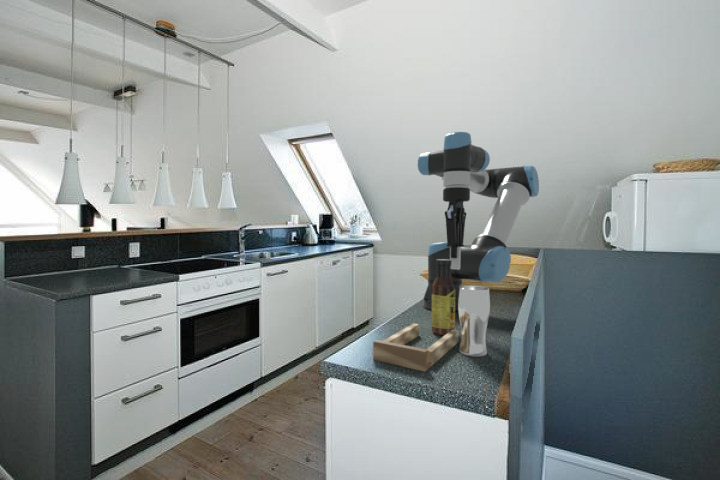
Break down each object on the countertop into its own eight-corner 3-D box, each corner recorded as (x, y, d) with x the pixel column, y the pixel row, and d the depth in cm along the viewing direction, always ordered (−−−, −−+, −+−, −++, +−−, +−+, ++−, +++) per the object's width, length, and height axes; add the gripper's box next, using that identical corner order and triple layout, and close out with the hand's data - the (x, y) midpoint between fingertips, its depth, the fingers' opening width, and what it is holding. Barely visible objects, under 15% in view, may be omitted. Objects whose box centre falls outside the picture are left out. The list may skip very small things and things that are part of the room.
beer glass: (485, 359, 81) (486, 291, 80) (453, 354, 84) (454, 288, 84) (491, 350, 87) (492, 286, 86) (461, 345, 90) (462, 284, 90)
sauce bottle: (455, 337, 97) (456, 261, 96) (431, 335, 98) (432, 260, 97) (454, 329, 103) (455, 258, 103) (431, 328, 105) (432, 258, 104)
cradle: (413, 334, 99) (413, 319, 99) (458, 342, 93) (458, 326, 92) (373, 359, 81) (373, 341, 81) (425, 371, 74) (425, 351, 74)
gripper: (451, 190, 115) (449, 266, 116) (436, 186, 104) (434, 270, 105) (475, 189, 111) (474, 267, 112) (462, 184, 100) (461, 272, 101)
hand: (454, 269), depth 108 cm, fingers closed
